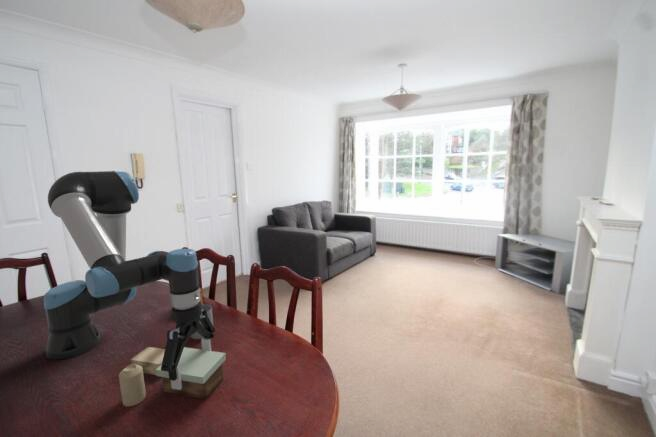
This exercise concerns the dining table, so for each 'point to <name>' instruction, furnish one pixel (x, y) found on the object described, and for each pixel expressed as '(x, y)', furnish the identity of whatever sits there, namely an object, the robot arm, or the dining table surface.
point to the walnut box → (197, 386)
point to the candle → (132, 385)
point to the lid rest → (149, 359)
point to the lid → (196, 365)
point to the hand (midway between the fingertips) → (193, 372)
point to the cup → (209, 314)
